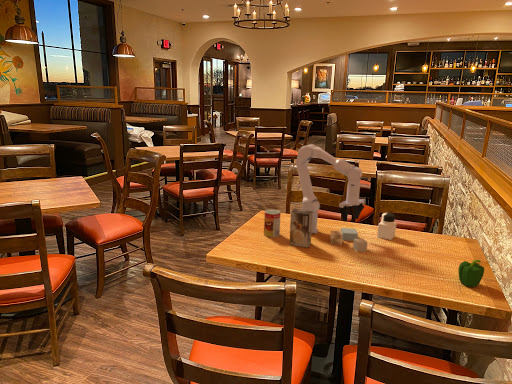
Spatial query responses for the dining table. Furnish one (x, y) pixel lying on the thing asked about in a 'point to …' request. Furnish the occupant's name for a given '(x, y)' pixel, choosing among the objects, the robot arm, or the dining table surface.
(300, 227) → the coffee box
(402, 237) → the dining table surface
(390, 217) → the medicine bottle
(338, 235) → the maple cube
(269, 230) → the canned food
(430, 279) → the dining table surface
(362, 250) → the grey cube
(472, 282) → the bell pepper
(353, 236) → the slate block
